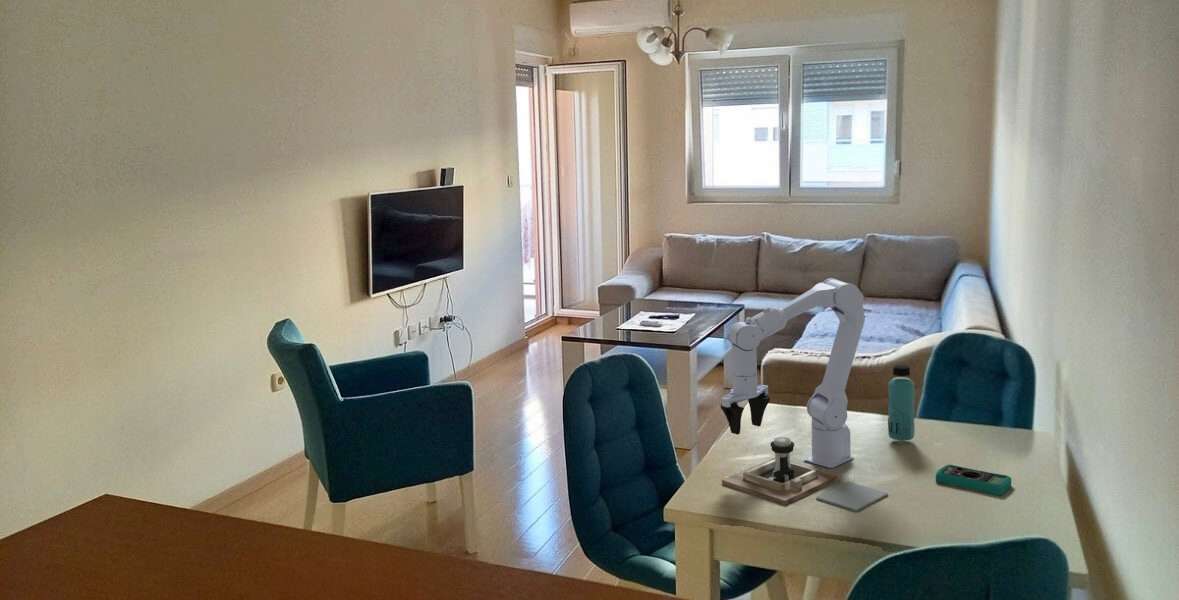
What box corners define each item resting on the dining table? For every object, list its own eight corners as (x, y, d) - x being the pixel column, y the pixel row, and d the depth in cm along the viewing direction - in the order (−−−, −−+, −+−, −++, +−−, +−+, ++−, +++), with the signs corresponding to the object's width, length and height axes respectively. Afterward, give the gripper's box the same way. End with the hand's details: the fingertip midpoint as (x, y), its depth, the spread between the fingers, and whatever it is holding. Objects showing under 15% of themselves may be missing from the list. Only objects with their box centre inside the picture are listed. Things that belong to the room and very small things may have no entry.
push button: (776, 488, 206) (775, 446, 205) (761, 481, 211) (760, 440, 209) (799, 482, 209) (799, 440, 208) (784, 475, 214) (783, 434, 212)
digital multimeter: (945, 473, 211) (945, 461, 210) (1012, 487, 201) (1013, 474, 200) (932, 484, 206) (932, 471, 205) (1001, 498, 196) (1001, 485, 195)
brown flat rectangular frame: (776, 460, 223) (776, 449, 223) (839, 479, 210) (839, 466, 209) (722, 483, 211) (721, 471, 210) (785, 505, 197) (785, 491, 197)
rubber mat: (848, 483, 207) (848, 481, 207) (887, 495, 199) (887, 493, 199) (816, 499, 199) (816, 497, 199) (856, 511, 192) (856, 509, 192)
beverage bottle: (917, 440, 233) (918, 363, 229) (911, 448, 227) (911, 370, 224) (891, 436, 236) (891, 361, 233) (884, 444, 231) (884, 367, 227)
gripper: (751, 364, 221) (752, 418, 223) (710, 377, 212) (712, 433, 214) (774, 369, 216) (775, 424, 218) (734, 382, 207) (735, 439, 209)
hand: (746, 429), depth 216 cm, fingers open, 7 cm apart
